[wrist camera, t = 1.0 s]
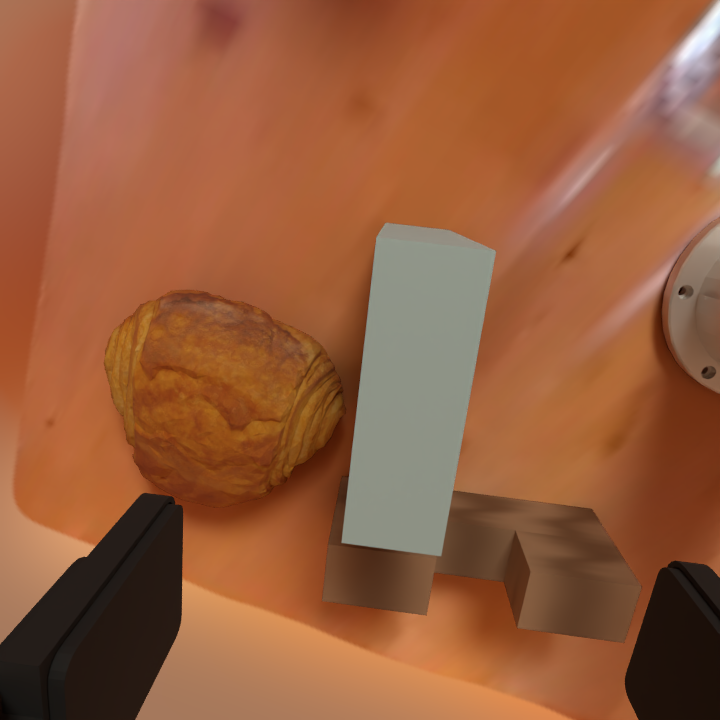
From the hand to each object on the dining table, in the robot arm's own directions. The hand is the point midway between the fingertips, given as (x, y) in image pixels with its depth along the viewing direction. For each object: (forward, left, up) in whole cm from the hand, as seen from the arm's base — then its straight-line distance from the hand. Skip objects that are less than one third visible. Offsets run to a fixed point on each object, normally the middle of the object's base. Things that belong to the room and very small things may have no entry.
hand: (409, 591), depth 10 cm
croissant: (+11, +7, -26) cm, 29 cm away
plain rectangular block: (0, 0, -25) cm, 25 cm away
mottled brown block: (-6, +14, -25) cm, 30 cm away
